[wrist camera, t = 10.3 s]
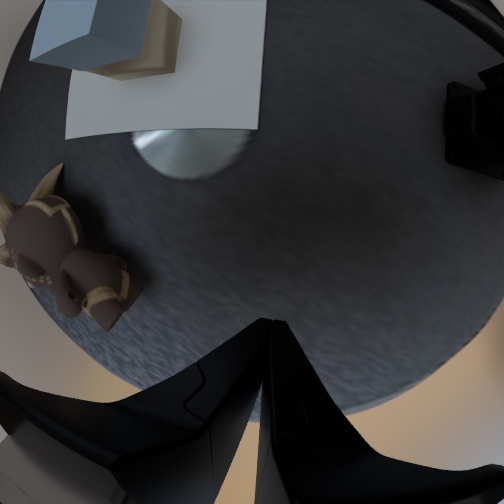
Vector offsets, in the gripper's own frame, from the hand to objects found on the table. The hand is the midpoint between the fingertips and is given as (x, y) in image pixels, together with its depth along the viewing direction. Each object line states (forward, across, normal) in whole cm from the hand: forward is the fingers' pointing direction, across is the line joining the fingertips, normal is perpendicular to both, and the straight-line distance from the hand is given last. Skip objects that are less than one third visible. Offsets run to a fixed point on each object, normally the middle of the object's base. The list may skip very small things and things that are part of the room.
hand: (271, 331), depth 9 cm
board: (+12, +12, -14) cm, 22 cm away
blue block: (+7, +12, -14) cm, 20 cm away
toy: (+13, +18, +2) cm, 22 cm away
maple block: (+12, +12, -14) cm, 22 cm away
